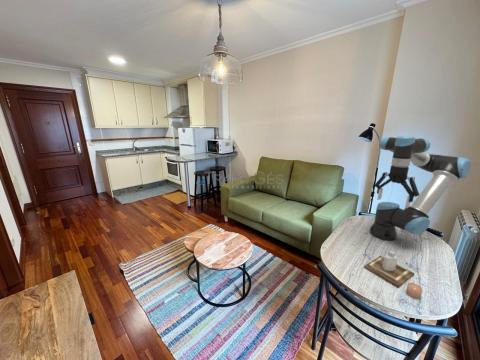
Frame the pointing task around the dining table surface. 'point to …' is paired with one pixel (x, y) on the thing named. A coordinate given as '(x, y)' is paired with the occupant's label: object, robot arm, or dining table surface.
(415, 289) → the egg
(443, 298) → the dining table surface
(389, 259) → the eye dropper bottle
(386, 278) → the board
